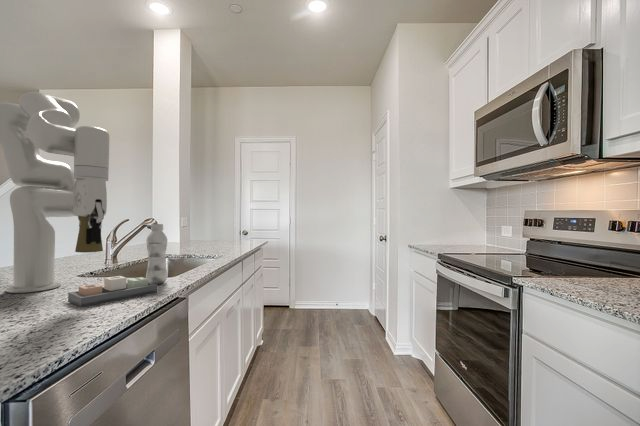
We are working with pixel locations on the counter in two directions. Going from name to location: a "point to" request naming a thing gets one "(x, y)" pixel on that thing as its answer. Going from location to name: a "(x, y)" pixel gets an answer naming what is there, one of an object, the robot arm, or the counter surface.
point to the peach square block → (90, 290)
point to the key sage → (137, 282)
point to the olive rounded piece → (81, 240)
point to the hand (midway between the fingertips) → (89, 242)
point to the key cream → (115, 283)
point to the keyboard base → (110, 295)
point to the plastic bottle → (156, 255)
